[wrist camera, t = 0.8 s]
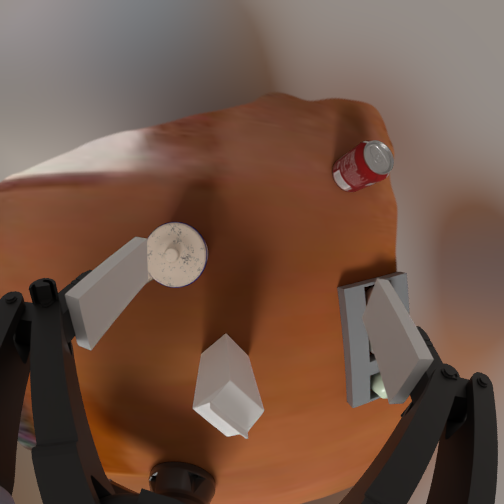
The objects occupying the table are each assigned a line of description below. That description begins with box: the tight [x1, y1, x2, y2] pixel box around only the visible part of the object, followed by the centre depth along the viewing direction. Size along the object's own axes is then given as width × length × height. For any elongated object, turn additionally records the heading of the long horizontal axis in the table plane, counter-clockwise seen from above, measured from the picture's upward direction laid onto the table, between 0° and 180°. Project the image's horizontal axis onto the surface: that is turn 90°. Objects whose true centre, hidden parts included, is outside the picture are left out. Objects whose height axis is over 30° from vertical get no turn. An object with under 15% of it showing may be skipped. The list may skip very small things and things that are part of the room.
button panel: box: [337, 272, 409, 408], centre depth 49 cm, size 25×14×3 cm, turn 10°
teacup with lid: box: [146, 222, 208, 288], centre depth 41 cm, size 12×9×12 cm
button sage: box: [370, 372, 387, 398], centre depth 47 cm, size 5×5×4 cm
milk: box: [193, 333, 264, 439], centre depth 36 cm, size 6×6×22 cm
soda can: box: [333, 141, 394, 192], centre depth 44 cm, size 7×7×12 cm
